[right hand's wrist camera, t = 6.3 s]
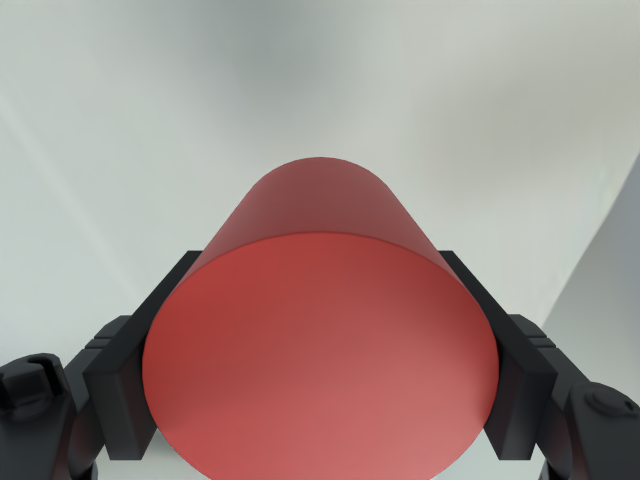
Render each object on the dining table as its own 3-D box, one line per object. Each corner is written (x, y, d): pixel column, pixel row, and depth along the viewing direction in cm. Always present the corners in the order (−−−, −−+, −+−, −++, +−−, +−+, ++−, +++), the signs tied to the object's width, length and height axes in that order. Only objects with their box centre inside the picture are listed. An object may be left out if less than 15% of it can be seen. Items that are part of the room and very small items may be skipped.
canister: (197, 214, 17) (61, 342, 8) (357, 119, 15) (409, 149, 6) (291, 342, 20) (268, 541, 11) (434, 273, 18) (545, 443, 9)
